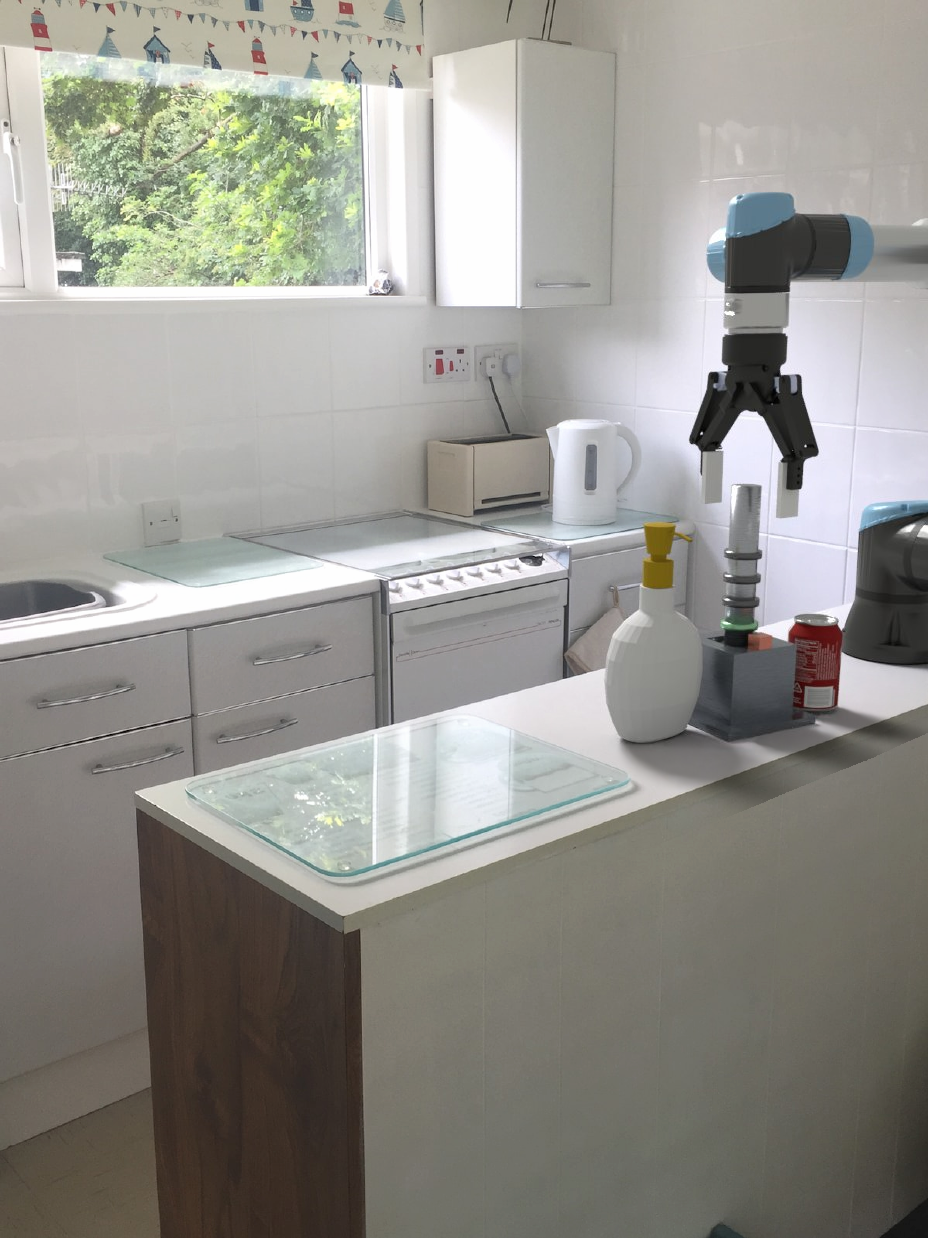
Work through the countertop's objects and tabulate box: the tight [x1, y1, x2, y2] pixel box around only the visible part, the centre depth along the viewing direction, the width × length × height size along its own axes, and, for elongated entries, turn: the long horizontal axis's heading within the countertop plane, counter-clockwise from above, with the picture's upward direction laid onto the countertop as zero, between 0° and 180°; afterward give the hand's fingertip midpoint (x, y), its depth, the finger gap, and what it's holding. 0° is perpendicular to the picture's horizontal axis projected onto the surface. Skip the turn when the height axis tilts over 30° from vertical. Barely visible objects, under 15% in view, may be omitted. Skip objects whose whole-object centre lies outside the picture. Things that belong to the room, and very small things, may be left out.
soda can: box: [786, 613, 843, 715], centre depth 156 cm, size 7×7×12 cm
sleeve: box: [688, 629, 817, 742], centre depth 152 cm, size 14×14×12 cm
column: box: [719, 483, 763, 648], centre depth 149 cm, size 5×5×21 cm
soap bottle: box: [604, 521, 703, 744], centre depth 143 cm, size 14×9×26 cm, turn 127°
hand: (747, 510), depth 148 cm, fingers open, 13 cm apart
